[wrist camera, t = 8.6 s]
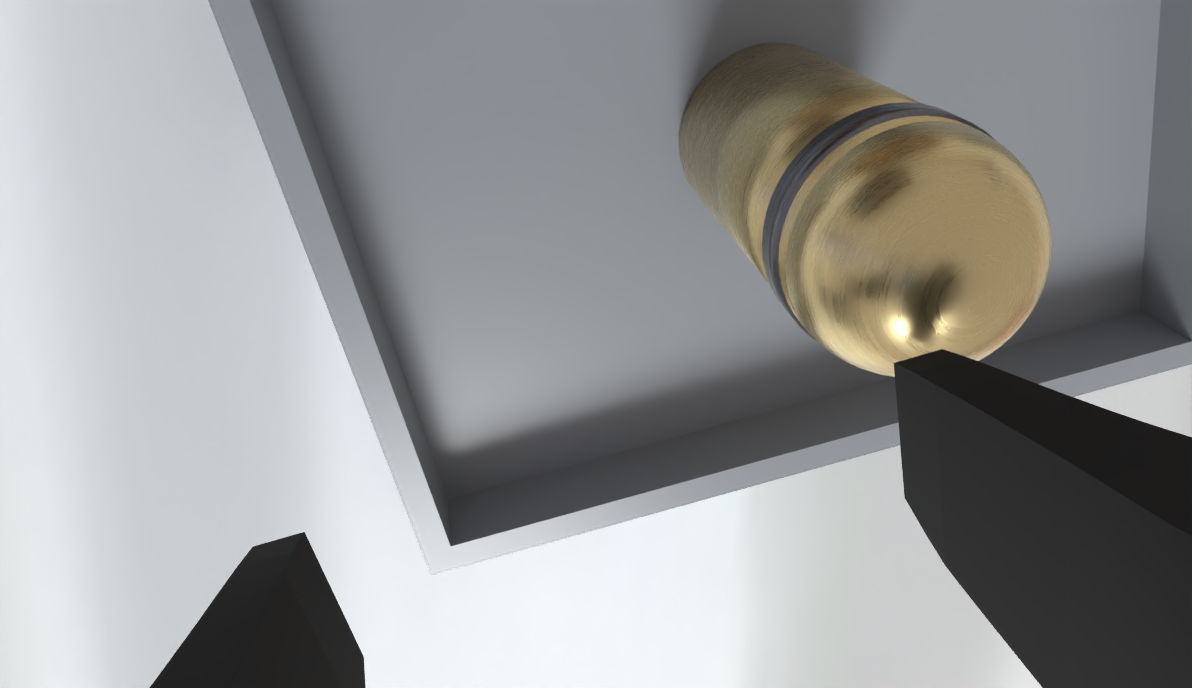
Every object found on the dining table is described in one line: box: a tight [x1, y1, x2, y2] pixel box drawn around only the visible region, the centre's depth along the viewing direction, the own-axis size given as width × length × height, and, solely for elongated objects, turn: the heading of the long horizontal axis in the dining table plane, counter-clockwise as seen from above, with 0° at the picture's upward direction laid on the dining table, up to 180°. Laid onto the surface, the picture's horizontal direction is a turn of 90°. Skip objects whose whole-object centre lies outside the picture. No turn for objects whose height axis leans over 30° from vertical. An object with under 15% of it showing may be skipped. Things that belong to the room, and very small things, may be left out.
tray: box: [208, 0, 1192, 575], centre depth 18 cm, size 18×14×2 cm
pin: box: [679, 42, 1052, 377], centre depth 15 cm, size 4×4×8 cm
